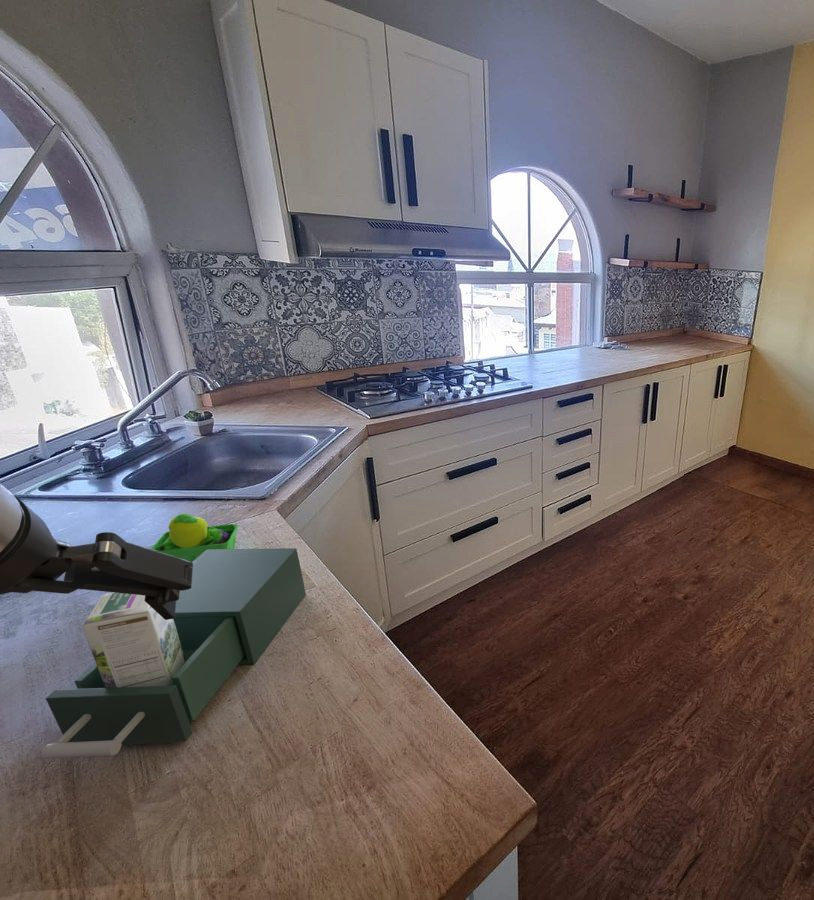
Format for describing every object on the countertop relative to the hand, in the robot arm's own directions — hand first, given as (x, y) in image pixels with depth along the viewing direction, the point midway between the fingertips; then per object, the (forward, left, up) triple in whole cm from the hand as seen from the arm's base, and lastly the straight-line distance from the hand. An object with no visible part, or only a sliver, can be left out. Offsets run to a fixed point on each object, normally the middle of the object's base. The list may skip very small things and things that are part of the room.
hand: (82, 621), depth 49 cm
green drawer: (-2, +6, -19) cm, 20 cm away
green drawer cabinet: (-2, +22, -20) cm, 29 cm away
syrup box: (-2, +7, -18) cm, 19 cm away
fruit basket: (-18, +40, -20) cm, 48 cm away
